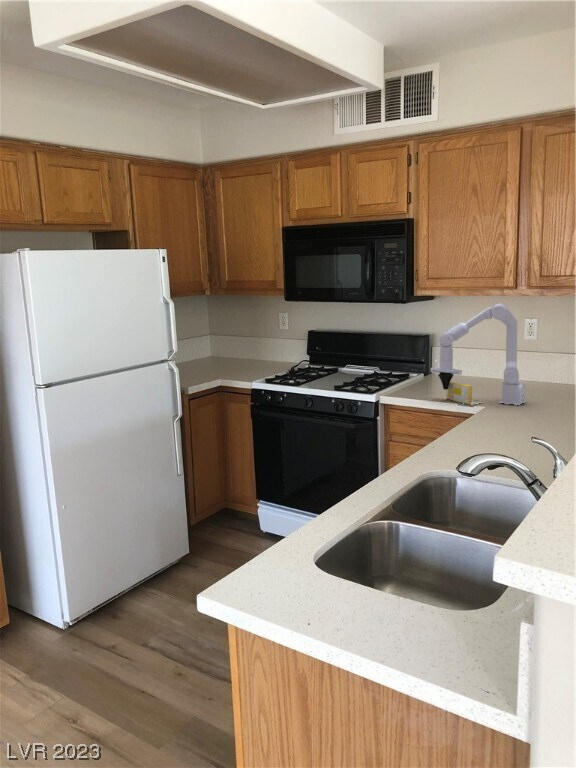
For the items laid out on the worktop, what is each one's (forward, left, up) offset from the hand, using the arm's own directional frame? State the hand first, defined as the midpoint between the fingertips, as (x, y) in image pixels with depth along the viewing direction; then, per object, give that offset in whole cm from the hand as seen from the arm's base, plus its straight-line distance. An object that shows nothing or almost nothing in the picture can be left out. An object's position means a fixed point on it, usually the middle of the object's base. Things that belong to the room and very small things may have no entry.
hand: (445, 389), depth 278 cm
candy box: (-6, 0, -5) cm, 8 cm away
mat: (-12, 0, -5) cm, 13 cm away
